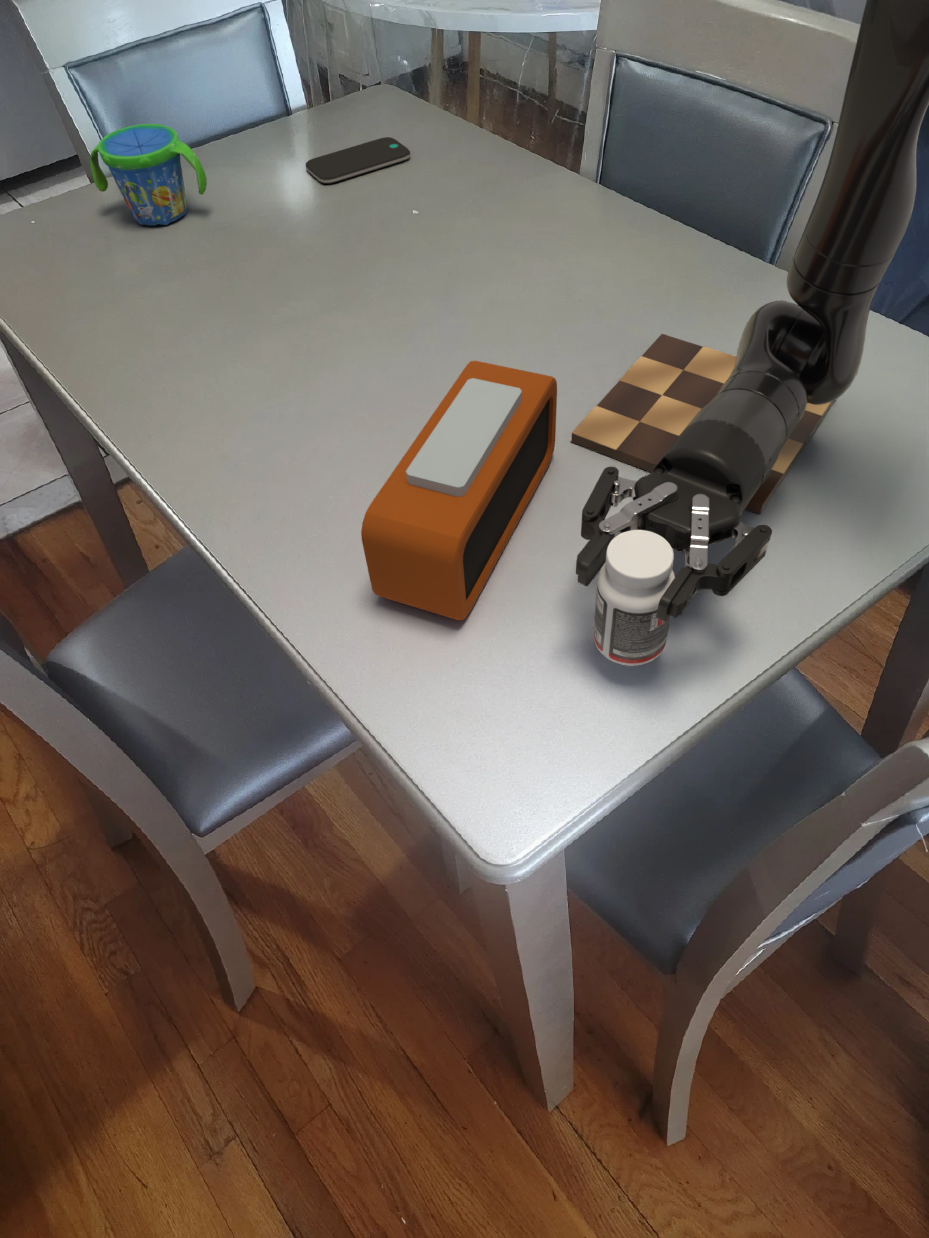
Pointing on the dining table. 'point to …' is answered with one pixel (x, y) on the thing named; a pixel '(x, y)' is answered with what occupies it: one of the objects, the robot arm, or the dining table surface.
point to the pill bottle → (633, 598)
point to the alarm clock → (461, 489)
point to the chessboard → (675, 410)
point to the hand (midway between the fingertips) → (621, 594)
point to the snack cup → (147, 171)
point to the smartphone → (357, 160)
